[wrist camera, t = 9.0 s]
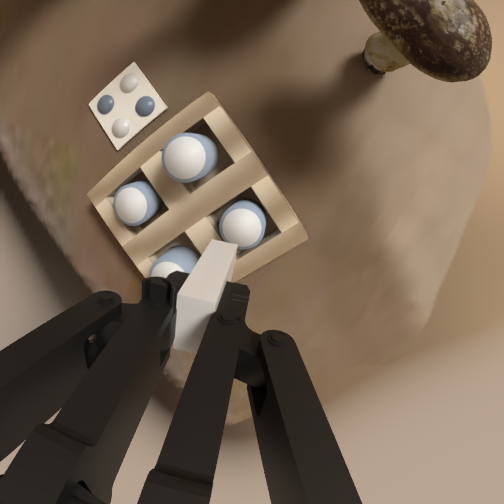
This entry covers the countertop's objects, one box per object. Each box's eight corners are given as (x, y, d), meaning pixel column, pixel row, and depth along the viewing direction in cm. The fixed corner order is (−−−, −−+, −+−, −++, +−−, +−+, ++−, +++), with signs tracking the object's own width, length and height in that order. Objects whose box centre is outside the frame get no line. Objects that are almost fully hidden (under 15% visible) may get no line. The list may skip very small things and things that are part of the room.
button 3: (154, 258, 30) (140, 272, 26) (184, 237, 29) (171, 250, 25) (178, 289, 31) (166, 307, 27) (208, 270, 30) (199, 287, 26)
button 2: (167, 151, 26) (151, 153, 23) (202, 125, 25) (190, 122, 22) (191, 186, 27) (178, 192, 24) (227, 161, 26) (219, 163, 23)
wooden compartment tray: (101, 189, 31) (86, 194, 28) (215, 96, 27) (208, 91, 24) (183, 302, 34) (175, 316, 32) (305, 229, 30) (308, 238, 28)
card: (89, 104, 28) (87, 104, 27) (135, 62, 26) (133, 61, 25) (118, 150, 29) (117, 150, 29) (168, 108, 27) (166, 107, 27)
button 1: (123, 194, 30) (105, 201, 27) (149, 171, 29) (133, 175, 26) (143, 224, 31) (128, 234, 28) (171, 203, 30) (157, 210, 27)
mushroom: (429, 93, 24) (523, 70, 10) (359, 112, 26) (429, 87, 12) (392, 14, 22) (457, -51, 8) (320, 29, 23) (350, -52, 9)
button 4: (218, 212, 30) (209, 221, 27) (251, 190, 29) (247, 196, 26) (240, 245, 31) (236, 258, 28) (274, 224, 30) (273, 235, 26)
